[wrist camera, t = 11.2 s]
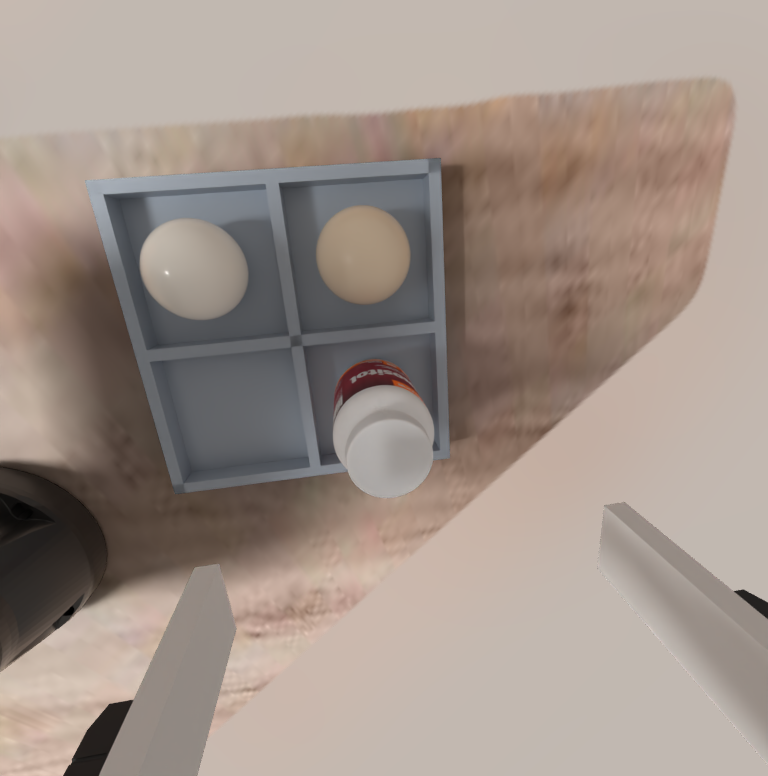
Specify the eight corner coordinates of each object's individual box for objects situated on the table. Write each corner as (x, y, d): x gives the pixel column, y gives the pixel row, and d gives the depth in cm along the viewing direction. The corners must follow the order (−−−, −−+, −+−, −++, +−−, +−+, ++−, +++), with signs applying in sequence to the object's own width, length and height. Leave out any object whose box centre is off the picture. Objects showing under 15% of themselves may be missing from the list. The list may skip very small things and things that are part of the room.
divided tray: (187, 476, 32) (175, 494, 30) (109, 188, 25) (84, 180, 23) (441, 444, 34) (450, 458, 31) (431, 167, 27) (440, 157, 25)
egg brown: (323, 304, 28) (320, 314, 23) (312, 215, 26) (306, 201, 21) (405, 296, 29) (421, 304, 23) (399, 208, 27) (416, 193, 21)
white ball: (177, 318, 27) (135, 332, 22) (155, 226, 26) (103, 215, 20) (263, 309, 28) (245, 321, 22) (248, 219, 26) (223, 207, 20)
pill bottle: (418, 362, 31) (462, 414, 20) (403, 434, 32) (435, 516, 22) (339, 350, 29) (342, 397, 19) (328, 425, 31) (324, 505, 21)
